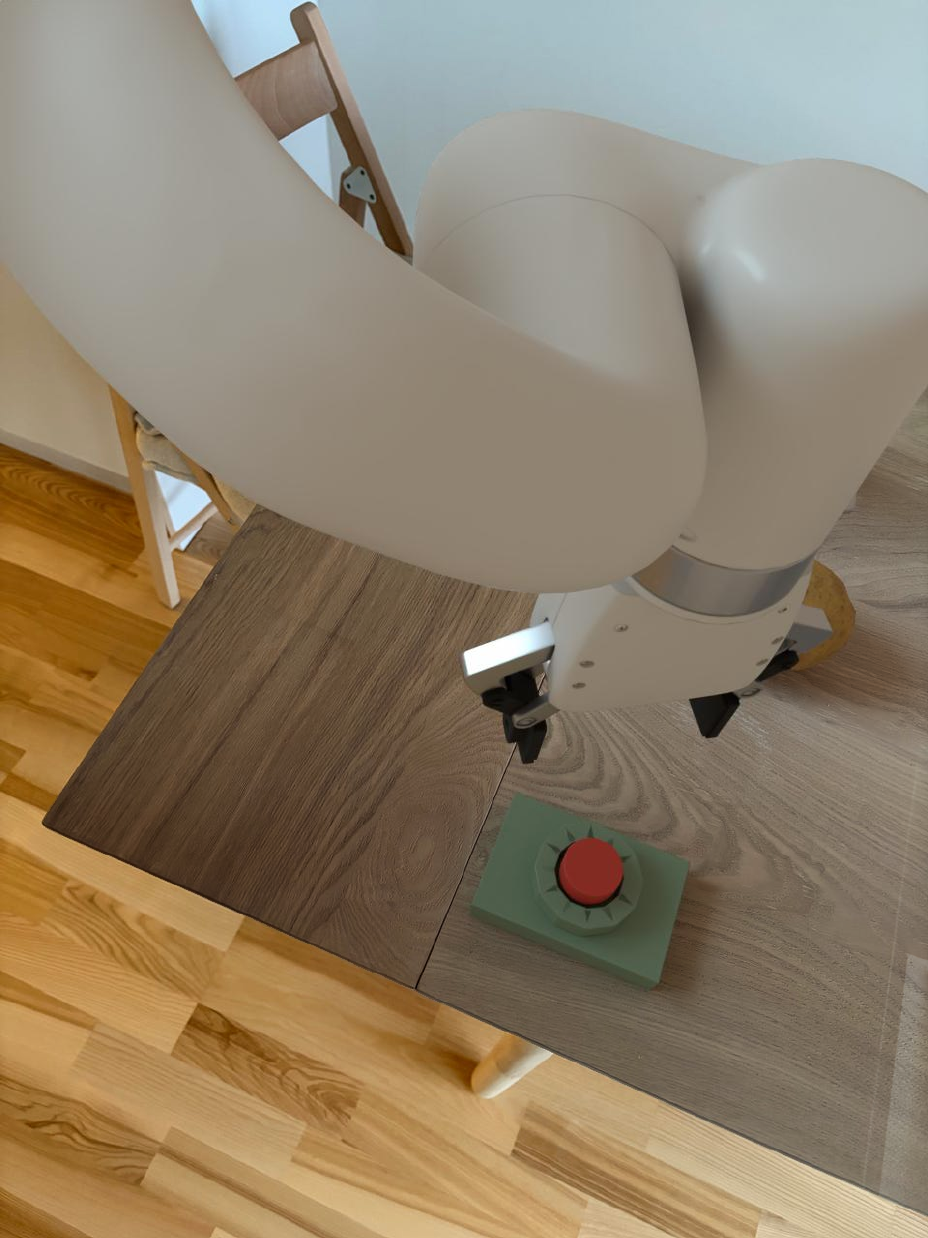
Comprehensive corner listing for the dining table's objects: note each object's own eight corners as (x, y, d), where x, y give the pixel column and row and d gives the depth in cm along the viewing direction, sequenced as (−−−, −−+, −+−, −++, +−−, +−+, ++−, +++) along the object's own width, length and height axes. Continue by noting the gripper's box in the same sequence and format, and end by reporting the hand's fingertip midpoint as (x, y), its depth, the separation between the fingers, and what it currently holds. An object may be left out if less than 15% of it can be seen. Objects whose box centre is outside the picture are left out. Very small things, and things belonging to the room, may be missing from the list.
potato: (705, 486, 68) (683, 577, 62) (883, 549, 67) (878, 647, 61) (662, 569, 76) (639, 657, 70) (821, 627, 75) (811, 720, 69)
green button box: (468, 914, 59) (473, 896, 56) (510, 804, 63) (518, 780, 60) (649, 991, 58) (666, 976, 54) (681, 872, 62) (699, 852, 59)
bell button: (550, 891, 57) (555, 882, 55) (569, 838, 59) (574, 828, 57) (607, 914, 56) (613, 906, 55) (623, 860, 58) (630, 851, 57)
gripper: (884, 425, 38) (743, 644, 52) (462, 460, 35) (436, 682, 49) (970, 576, 34) (792, 768, 48) (503, 630, 31) (462, 817, 45)
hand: (612, 725), depth 49 cm, fingers open, 9 cm apart
